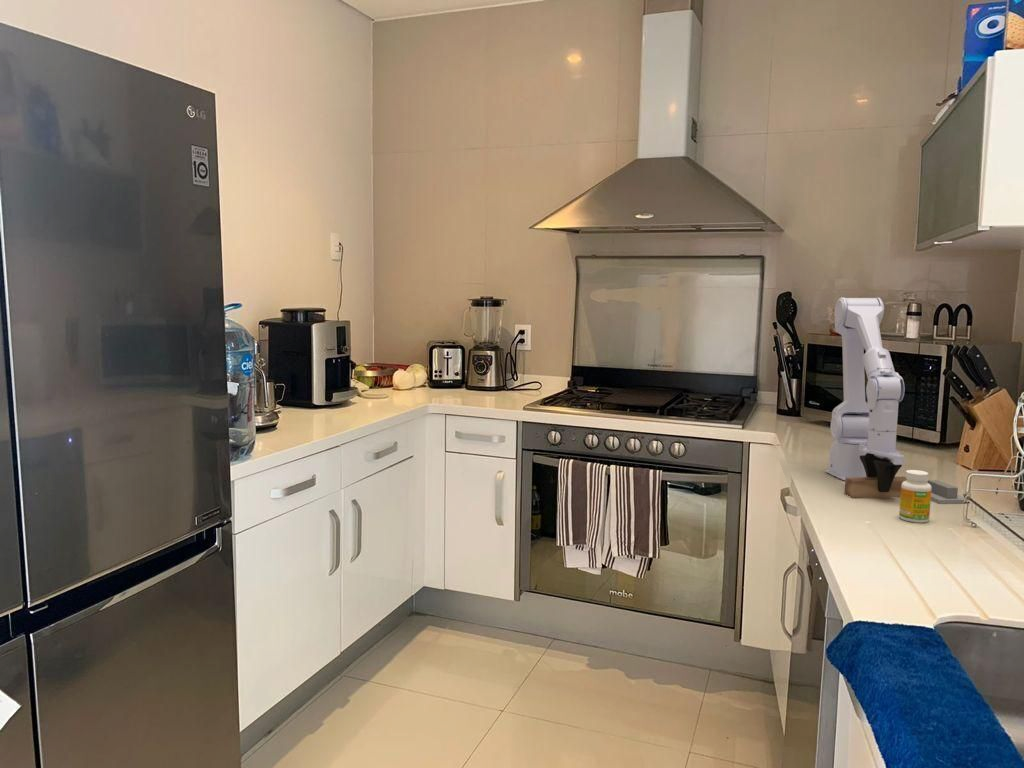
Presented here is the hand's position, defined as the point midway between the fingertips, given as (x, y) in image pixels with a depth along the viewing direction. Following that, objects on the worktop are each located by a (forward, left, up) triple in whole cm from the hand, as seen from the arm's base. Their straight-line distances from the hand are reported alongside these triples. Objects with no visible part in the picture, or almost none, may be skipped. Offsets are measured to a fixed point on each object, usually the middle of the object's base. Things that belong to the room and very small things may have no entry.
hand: (878, 489), depth 174 cm
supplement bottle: (+18, -3, -2) cm, 18 cm away
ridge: (+3, +13, -1) cm, 13 cm away
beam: (0, 0, -2) cm, 2 cm away
